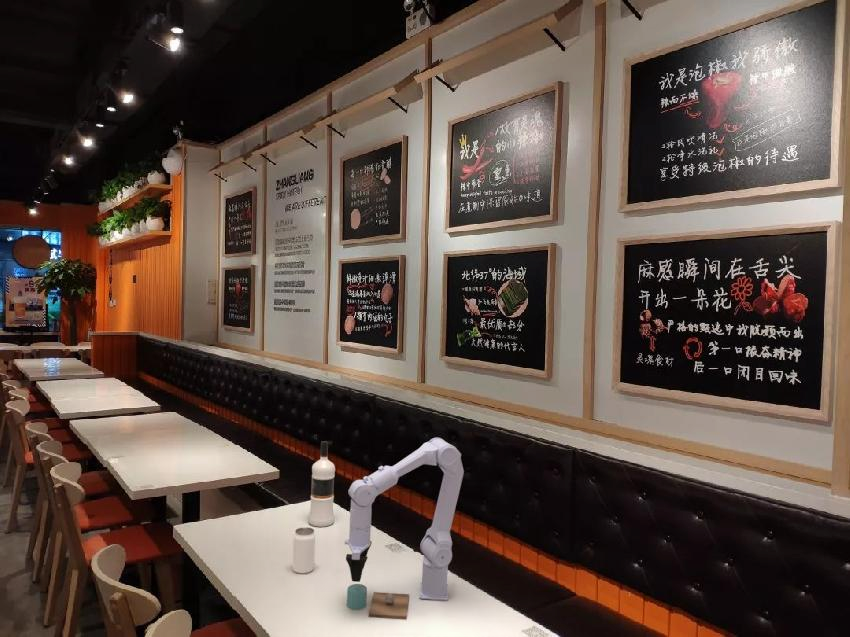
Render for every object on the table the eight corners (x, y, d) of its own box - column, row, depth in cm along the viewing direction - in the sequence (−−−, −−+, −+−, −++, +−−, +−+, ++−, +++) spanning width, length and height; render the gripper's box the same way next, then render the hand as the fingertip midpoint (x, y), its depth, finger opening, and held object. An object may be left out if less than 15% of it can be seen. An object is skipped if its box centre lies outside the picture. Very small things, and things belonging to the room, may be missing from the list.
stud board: (373, 594, 177) (374, 582, 177) (408, 597, 177) (409, 584, 177) (368, 616, 165) (369, 603, 165) (406, 619, 165) (406, 606, 165)
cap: (348, 599, 174) (349, 583, 174) (367, 600, 174) (367, 584, 174) (345, 608, 169) (346, 592, 169) (364, 610, 169) (365, 593, 169)
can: (315, 565, 194) (316, 527, 194) (312, 574, 188) (313, 535, 187) (294, 564, 194) (295, 526, 194) (290, 573, 188) (292, 534, 187)
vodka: (327, 529, 223) (330, 445, 222) (303, 525, 226) (307, 442, 225) (338, 520, 232) (341, 440, 231) (315, 516, 235) (318, 437, 233)
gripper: (349, 515, 178) (347, 562, 178) (341, 535, 163) (339, 586, 164) (374, 516, 178) (372, 563, 178) (368, 536, 163) (365, 587, 164)
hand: (358, 574), depth 171 cm, fingers open, 7 cm apart
